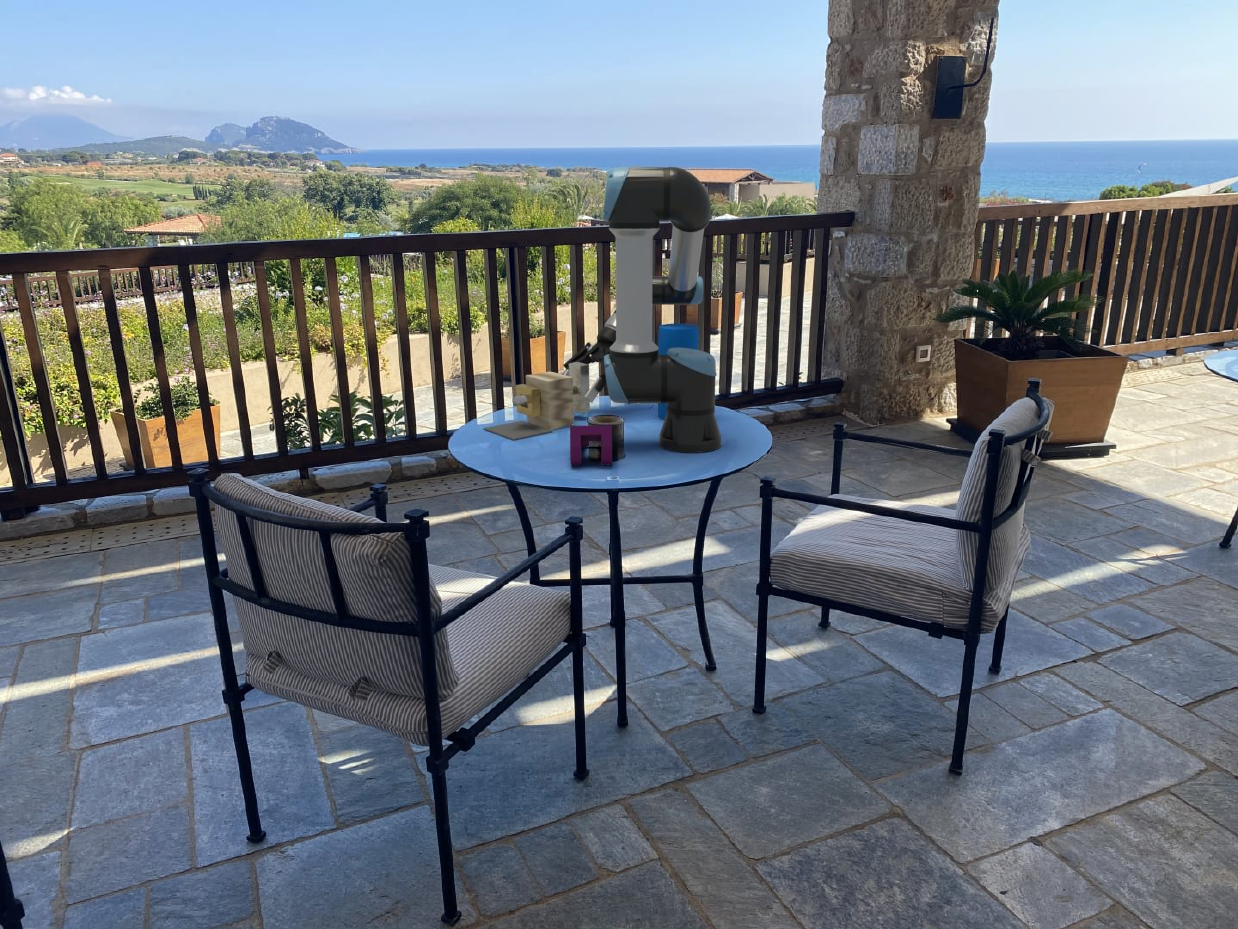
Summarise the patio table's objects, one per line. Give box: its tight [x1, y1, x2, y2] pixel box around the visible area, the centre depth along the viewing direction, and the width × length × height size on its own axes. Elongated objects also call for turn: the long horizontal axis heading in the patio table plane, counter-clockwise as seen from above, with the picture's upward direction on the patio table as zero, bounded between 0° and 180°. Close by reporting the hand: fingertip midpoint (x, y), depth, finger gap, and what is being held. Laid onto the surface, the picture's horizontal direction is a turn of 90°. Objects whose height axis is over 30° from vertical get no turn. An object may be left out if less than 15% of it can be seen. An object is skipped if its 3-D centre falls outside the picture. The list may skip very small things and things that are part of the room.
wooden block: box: [525, 371, 575, 431], centre depth 233 cm, size 8×10×13 cm
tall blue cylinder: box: [657, 323, 700, 421], centre depth 238 cm, size 11×11×25 cm
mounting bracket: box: [569, 424, 613, 466], centre depth 206 cm, size 9×8×18 cm
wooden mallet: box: [511, 362, 591, 414], centre depth 233 cm, size 22×5×13 cm, turn 130°
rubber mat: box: [483, 419, 553, 442], centre depth 229 cm, size 12×14×1 cm
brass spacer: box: [515, 383, 540, 417], centre depth 228 cm, size 2×7×7 cm, turn 40°
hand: (572, 395), depth 238 cm, fingers open, 13 cm apart
